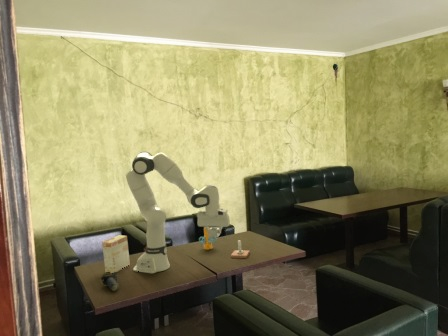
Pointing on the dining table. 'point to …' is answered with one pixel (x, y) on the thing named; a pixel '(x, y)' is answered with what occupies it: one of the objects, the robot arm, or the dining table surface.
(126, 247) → the coffeecake box
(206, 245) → the orange vase with loops
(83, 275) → the dining table surface
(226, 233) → the dining table surface
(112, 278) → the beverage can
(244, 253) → the shaft block
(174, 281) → the dining table surface
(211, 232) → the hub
